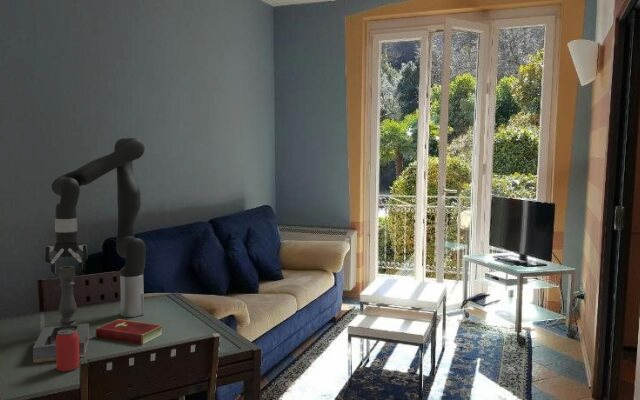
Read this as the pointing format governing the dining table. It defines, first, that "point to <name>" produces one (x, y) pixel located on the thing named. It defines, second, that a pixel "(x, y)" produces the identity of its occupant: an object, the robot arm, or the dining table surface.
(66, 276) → the candle holder
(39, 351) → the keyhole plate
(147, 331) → the hardcover book
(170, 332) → the dining table surface
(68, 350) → the beer can
